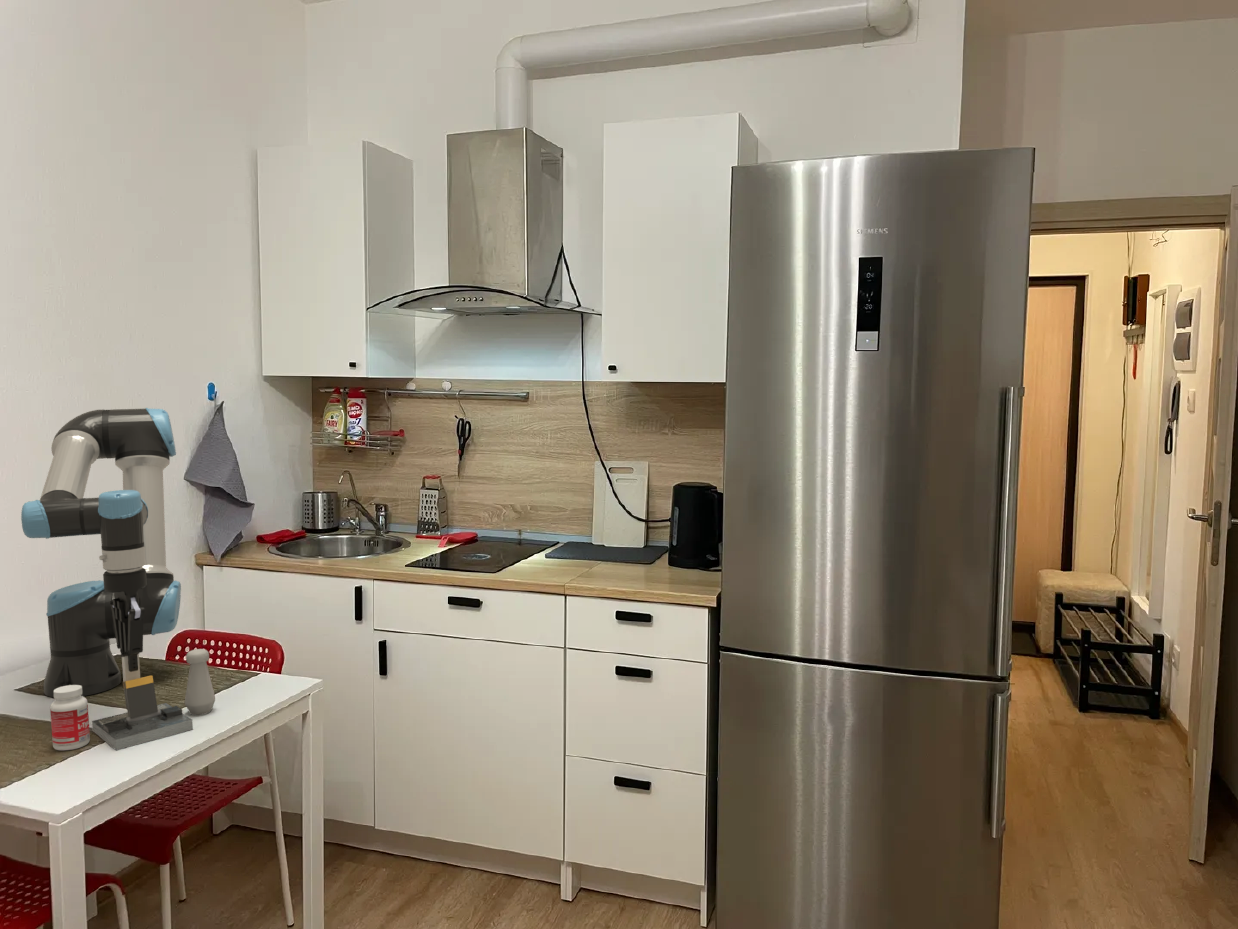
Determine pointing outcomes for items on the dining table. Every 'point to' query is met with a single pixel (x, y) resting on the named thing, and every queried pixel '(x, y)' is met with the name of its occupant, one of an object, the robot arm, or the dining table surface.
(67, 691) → the pill bottle
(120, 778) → the dining table surface
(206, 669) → the salt shaker
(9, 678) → the dining table surface
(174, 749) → the dining table surface
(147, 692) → the paddle
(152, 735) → the panel
